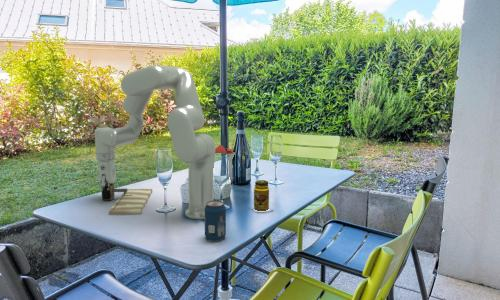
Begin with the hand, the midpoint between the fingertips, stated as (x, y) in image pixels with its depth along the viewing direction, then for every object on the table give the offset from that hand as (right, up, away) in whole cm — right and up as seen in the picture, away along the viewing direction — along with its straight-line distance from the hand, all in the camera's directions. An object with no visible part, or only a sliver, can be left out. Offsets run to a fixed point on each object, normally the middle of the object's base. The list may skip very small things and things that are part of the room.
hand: (108, 196), depth 161 cm
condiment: (+66, -4, -10) cm, 67 cm away
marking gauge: (+3, -1, 0) cm, 3 cm away
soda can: (+50, -9, -39) cm, 64 cm away
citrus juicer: (+46, +3, +28) cm, 54 cm away
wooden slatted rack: (+12, -2, -3) cm, 12 cm away
